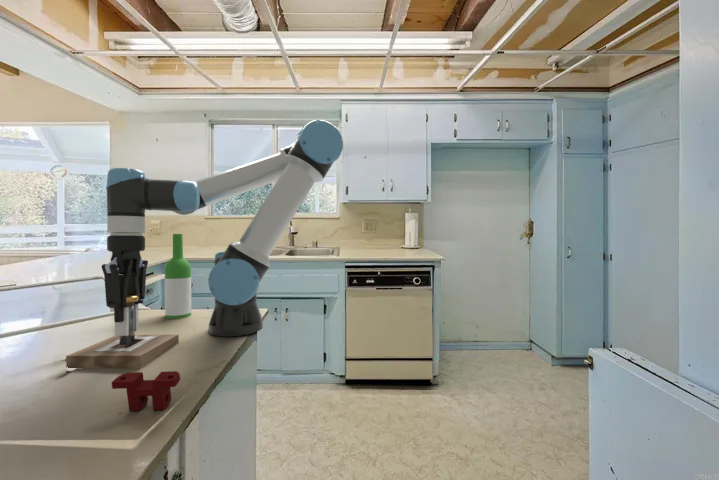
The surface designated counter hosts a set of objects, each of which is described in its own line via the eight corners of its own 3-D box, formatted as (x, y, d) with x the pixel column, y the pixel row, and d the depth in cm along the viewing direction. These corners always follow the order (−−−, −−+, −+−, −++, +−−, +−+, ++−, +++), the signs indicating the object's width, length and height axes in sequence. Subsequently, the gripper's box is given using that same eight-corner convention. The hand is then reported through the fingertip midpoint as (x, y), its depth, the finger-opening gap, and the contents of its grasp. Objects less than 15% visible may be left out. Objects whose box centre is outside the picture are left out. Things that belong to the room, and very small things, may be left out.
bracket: (121, 372, 60) (181, 371, 61) (125, 402, 61) (184, 400, 62) (111, 382, 57) (174, 380, 58) (115, 413, 58) (177, 411, 59)
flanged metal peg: (123, 340, 86) (123, 294, 85) (142, 340, 86) (142, 294, 85) (110, 346, 81) (110, 298, 81) (130, 346, 81) (130, 298, 81)
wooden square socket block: (178, 347, 91) (178, 333, 91) (140, 371, 75) (140, 354, 75) (117, 348, 91) (117, 333, 91) (66, 372, 75) (66, 355, 75)
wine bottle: (175, 327, 111) (174, 233, 111) (159, 325, 114) (158, 233, 114) (196, 322, 118) (195, 233, 118) (180, 320, 121) (180, 233, 121)
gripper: (132, 234, 91) (132, 324, 91) (84, 234, 75) (85, 343, 75) (161, 234, 91) (161, 324, 91) (119, 234, 75) (119, 343, 75)
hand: (126, 332), depth 83 cm, fingers closed on flanged metal peg, 3 cm apart
